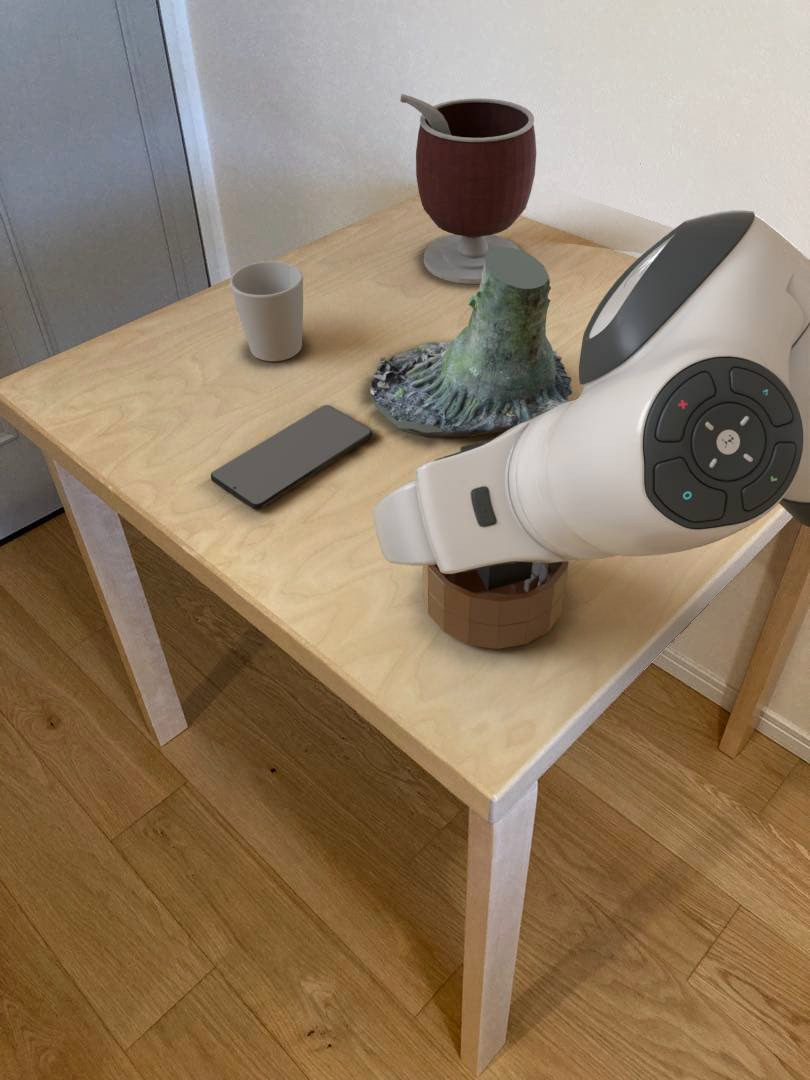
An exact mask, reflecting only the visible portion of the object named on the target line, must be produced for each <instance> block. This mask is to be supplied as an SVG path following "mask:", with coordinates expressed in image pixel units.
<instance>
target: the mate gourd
mask: <svg viewBox="0 0 810 1080" xmlns="http://www.w3.org/2000/svg"><path fill="white" fill-rule="evenodd" d="M399 101H400V103H403V104H408V105H410V106H411V107H413V108H414V109H415V110H417V111H418V112H419V113H420V114H421V115H420V117H419V118H420V119H419V127H418V133H417V141H416V148H415V177H416V183H417V191H418V195H419V199H420V202H421V205H422V208H423V210H424V211H425V213H426V214H427V215H428V216H429V218H430V219H431V220H432V221H433V223H434V224H435V225H436V226H437V228H438V229H441V230H442V231H443V232H447V233H449V234H451V235H447V236H443V237H441V238H439V239H436V240H435V241H433V242H432V243H430V244H429V245H428V246H427V247H426V248H425V250H424V253H423V264H424V266H425V268H426V269H427V271H428V272H429V273H431V275H433V276H435V277H437V278H439V279H441V280H444V281H447V282H452V283H456V284H464V285H480V283H481V277H482V273H483V268H484V262H485V257H486V254H487V252H488V251H489V250H491V249H493V248H499V247H507V248H514V249H517V250H520V251H521V249H520V248H519V247H518V245H516V243H514V242H513V241H510V240H509V239H506V238H505V237H502V236H498V235H496V234H499V233H502V232H504V231H506V230H508V229H509V228H510V227H511V226H512V225H513V224H515V222H516V221H517V220H518V218H519V217H520V216H521V215H522V214H523V213H524V211H525V210H526V208H527V205H528V203H529V200H530V197H531V194H532V189H533V185H534V181H535V175H536V165H537V164H536V163H537V141H536V131H535V125H534V123H535V117H534V114H533V113H532V111H530V110H529V109H528V108H526V107H524V106H522V105H520V104H518V103H514V102H511V101H507V100H502V99H495V98H479V97H478V98H477V97H476V98H461V99H460V98H459V99H453V100H449V101H445V102H440V103H438V104H435V105H431V103H428V102H425V101H424V100H422V99H419V98H416V97H414V96H411V95H407V94H404V93H401V95H400V100H399Z"/></svg>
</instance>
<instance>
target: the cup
mask: <svg viewBox="0 0 810 1080" xmlns="http://www.w3.org/2000/svg"><path fill="white" fill-rule="evenodd" d="M229 286H230V289H231V290H230V291H231V292H232V296H233V299H234V304H235V307H236V310H237V313H238V316H239V321H240V323H241V327H242V329H243V332H244V335H245V339H246V341H247V344H248V347H249V351H250V352H251V355H252V356H254V357H255V358H257V359H259V360H261V361H264V362H281V361H282V362H283V361H285V360H289V359H291V358H293V357H295V356H296V355H297V354H299V353H300V352H301V350H302V347H303V332H304V331H303V329H304V328H303V327H304V324H303V323H304V275H303V273H302V271H301V269H300V268H299V267H297V266H296V265H294V264H292V263H289V262H285V261H279V260H264V261H257V262H254V263H250V264H246V265H244V266H242V267H241V268H239V269H237V270H236V271H235V272H234V273H233V274H232V275H231V277H230V279H229Z"/></svg>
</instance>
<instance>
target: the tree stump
mask: <svg viewBox="0 0 810 1080" xmlns="http://www.w3.org/2000/svg"><path fill="white" fill-rule="evenodd" d="M550 284H551V279H550V276H549V273H548V271H547V269H546V267H545V266H544V265H543V263H542V262H541V261H539V260H538V259H537V258H536V257H535V256H533V255H531V254H530V253H528V252H525V251H523V250H521V249H520V250H517V249H514V248H507V247H499V248H493V249H491V250H489V251H488V252H487V254H486V257H485V262H484V268H483V273H482V277H481V283H480V284H479V288H478V291H477V292H476V293H475V294H473V295H472V296H470V297H469V298H468V303H467V305H468V306H470V307H471V308H472V310H471V315H470V318H469V321H468V324H467V326H465V327H464V328H462V330H461V331H460V332H459V333H458V334H457V335H456V337H455V338H454V339H452V340H451V341H448V342H445V341H441V342H435V341H432V342H428V343H425V344H420V345H418V346H415V347H413V348H411V349H409V350H407V351H404V352H401V353H400V354H397V355H393V356H391V357H390V358H389V359H388V360H386V357H385V356H383V357H380V361H379V363H378V364H377V367H376V372H375V373H374V374H373V376H372V380H371V385H370V387H369V390H370V397H371V399H372V402H373V404H374V405H375V407H376V409H377V411H378V412H379V413H380V414H382V416H384V417H385V418H386V419H387V420H388V421H389V422H391V424H393V425H394V426H395V427H396V428H397V429H398V430H400V431H402V432H407V433H411V434H414V435H417V436H422V437H477V436H482V435H489V434H494V433H499V432H500V433H501V432H506V431H507V430H509V429H511V428H513V427H514V426H516V425H519V424H521V423H523V422H527V421H529V420H531V419H532V418H534V417H536V416H538V415H540V414H543V413H545V412H547V411H549V410H551V409H553V408H555V407H557V406H558V405H561V404H563V403H566V402H568V401H567V400H568V397H570V395H572V393H573V390H572V387H571V382H572V376H571V375H569V374H568V372H567V371H566V369H565V366H564V364H563V363H562V356H561V355H558V351H555V350H554V349H553V347H552V345H551V343H550V341H549V340H548V337H547V333H546V332H547V330H546V329H547V313H548V309H549V306H550V302H551V300H550V299H549V293H550V291H551V289H552V286H551V285H550Z"/></svg>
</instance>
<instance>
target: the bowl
mask: <svg viewBox="0 0 810 1080" xmlns="http://www.w3.org/2000/svg"><path fill="white" fill-rule="evenodd" d="M569 564H570V561H565V562H554V563H536V562H533V565H532V573H531V579H527V580H524V581H520V582H517V583H513V584H510V585H506V586H502V587H499V588H495V589H492V590H487V588H486V586H485V585H484V583H483V581H482V579H481V578H480V576H479V574H478V573H477V571H476V570H473V571H468V572H458V573H453V574H444V573H442V572H440V569H439V567H438V565H437V564H434V565H422V597H423V599H424V603H425V607H426V611H427V614H428V616H429V617H430V618H431V619H432V620H433V622H434V623H435V624H436V625H437V626H438V627H439V628H440V629H441V630H442V632H444V634H446V635H448V636H450V637H452V638H454V639H456V640H458V641H460V642H462V643H464V644H466V645H467V646H468V645H469V646H473V647H480V648H486V649H493V650H494V649H495V650H497V649H498V650H501V649H506V648H513V647H518V646H525V645H527V644H529V643H531V642H532V641H534V640H536V639H538V638H540V637H541V636H543V635H546V634H547V633H548V632H550V630H551V628H552V627H553V626H554V625H555V623H556V622H557V620H558V619H559V618H560V616H561V615H562V611H563V604H564V599H565V591H566V586H567V585H566V584H567V578H568V572H569V566H570V565H569Z"/></svg>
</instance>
